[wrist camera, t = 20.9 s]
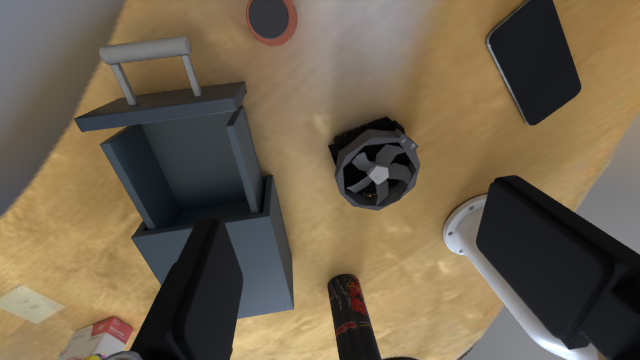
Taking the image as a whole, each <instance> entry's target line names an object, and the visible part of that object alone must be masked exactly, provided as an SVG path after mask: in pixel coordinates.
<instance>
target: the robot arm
mask: <svg viewBox="0 0 640 360" xmlns="http://www.w3.org/2000/svg"><path fill="white" fill-rule="evenodd" d="M443 239H444V242H445V243H446V245H447V246H448V248H449V249H450V250H451V251H453V252H455V253H457V254H462V255H466V256H467V257H468V258H469V259H470V261H471V262H472V263H473V265H474V266H475V267H476V268H477V270H478V271H479V272H480V273H481V275H482V276H483V277H484V279H485V280H486V281H487V282H488V284H489V285H490V286H491V287H492V289H493V290H494V291H495V293H496V294H497V295H498V296H499V298H500V299H501V300H502V301H503V303H504V304H505V305H506V306H507V308H508V309H509V310H510V311H511V313H512V314H513V315H514V317H515V318H516V319H517V320H518V322H519V323H520V324H521V326H522V327H523V328H524V329H525V331H526V332H527V333H528V334H529V336H530V337H531V338H532V339H533V340H534V341H535V342H537V343H538V344H539V345H541V346H542V347H543V348H545V349H547V350H548V351H550V352H552V353H554V354H556V355H558V356H560V357H563V358H565V359H568V360H640V255H639V254H638V253H636V252H635V251H633V250H632V249H630V248H629V247H627V246H625V245H624V244H622V243H621V242H619V241H618V240H616V239H615V238H613V237H612V236H610V235H608V234H607V233H605V232H604V231H602V230H601V229H599V228H597V227H596V226H595V225H593V224H591V223H589V222H588V221H587V220H585V219H584V218H582V217H581V216H579V215H578V214H576V213H574V212H573V211H571V210H570V209H568V208H567V207H565V206H564V205H562V204H561V203H559V202H557V201H556V200H554V199H553V198H551V197H550V196H548V195H547V194H545V193H544V192H542V191H540V190H539V189H537V188H536V187H534V186H533V185H531V184H530V183H528V182H526V181H525V180H523V179H522V178H520V177H519V176H516V175H512V176H504V177H498V178H496V179H495V180H494V182H493V183H491V184H490V187H489V191H488V194H486V195H481V196H478V197H475V198H473V199H471V200H468V201H467V202H465V203H464V204H462V205H461V206H459V207H458V208H457V209H456V210H455V211H454V212H453V213H452V214H451V215H450V217H449V218H448V219H447V221H446V223H445V225H444V229H443ZM242 289H243V274H242V271H241V268H240V265H239V262H238V259H237V257H236V254H235V251H234V248H233V245H232V242H231V240H230V237H229V234H228V231H227V228H226V226H225V223H224V221H223V220H218V218H217V217H208V218H201V219H198V220H197V221H196V223H195V225H194V227H193V229H192V231H191V233H190V235H189V237H188V239H187V241H186V244H185V246H184V248H183V250H182V252H181V254H180V256H179V258H178V260H177V262H175V263H174V264H173V265H172V267H171V268H170V270H169V272H168V274H167V276H166V278H165V280H164V282H163V284H162V286H161V288H160V290H159V292H158V294H157V296H156V298H155V300H154V302H153V304H152V306H151V308H150V310H149V312H148V314H147V316H146V318H145V320H144V322H143V324H142V326H141V329H140V331H139V333H138V335H137V337H136V339H135V341H134V343H133V345H132V347H131V349H130V351H120V352H117V353H115V354H112V355H109V356H108V357H106V358H104V359H103V360H230V355H231V350H232V344H233V339H234V333H235V327H236V322H237V316H238V311H239V305H240V300H241V294H242Z"/></svg>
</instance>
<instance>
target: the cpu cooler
mask: <svg viewBox="0 0 640 360" xmlns="http://www.w3.org/2000/svg"><path fill="white" fill-rule="evenodd" d="M386 117H387V116H386ZM386 117H384V118H383V119H380V120H379V119H378V120H375V121H373V122H372V123H367V125H364V126H363V125H362V127H361V126H360V127H361V128H360V127H357V128H358V130H357V128H356V129H354V131H351V130H349V131H348V132H346V133H345V134H343V133H341V134H343V135H342V136H340V137H339V135H338V137H339V138H338V139H339V141H338V139H336V140H335V141H334V144H331V145H328V147H329V149H330V152H331V155H332V158H333V160H334V163H335V166H336V170H335V179H336V182H337V185H338V188H339V191H340V194H341V195H342V196H343V197H344V198H345V199H346V200H347V201H348V202H349V203H350V204H351V205H352V206H355V207H360V208H366V209H372V210H377V211H378V210H380V209H382V208H384V207H386V206H388V205H390V204H392V203H394V202H396V201H398V200H400V199H401V198H402V197H403V196H404V195H405V194H406V193H408V192H409V191H410V190H411V189H412V188H413V187H414V186H415V183H416V179H417V175H418V170H419V166H420V163H419V160H418V157H417V154H416V149H417V148H418V145H417V144H416V143H415V142H414V141H413V140H411V139H410V138H409V137H407V136H406V135H405V131H404V128H403V127H402V126H401V125H400V124H399V123H398V122H396V121H395V120H394V121H392V120H390V119H389V118H388V117H387V118H386ZM350 131H351V132H350ZM349 132H350V133H349ZM346 134H347V135H346ZM345 135H346V136H345ZM341 137H343V138H341ZM336 138H337V136H336ZM340 138H341V139H340ZM333 139H334V138H333ZM336 141H337V142H336ZM335 142H336V143H335ZM365 192H366V193H365ZM376 192H377V193H376ZM363 193H365V194H363ZM369 193H370V194H369ZM366 194H368V195H366ZM373 194H375V195H373ZM370 195H372V196H371V197H369V196H370Z"/></svg>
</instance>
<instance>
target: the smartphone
mask: <svg viewBox="0 0 640 360" xmlns="http://www.w3.org/2000/svg"><path fill="white" fill-rule="evenodd" d="M487 46H488V48H489V50H490V52H491V54H492V56H493V58H494V60H495V62H496V64H497V66H498V68H499V70H500V72H501V74H502V76H503V78H504V80H505V82H506V84H507V86H508V88H509V90H510V92H511V94H512V96H513V98H514V100H515V102H516V104H517V106H518V108H519V110H520V112H521V114H522V116H523V118H524V120H525V122H526V123H527V124H529V125H536V124H538V123H539V122H541V121H542V120H544V119H545V118H546V117H548V116H549V115H550V114H552V113H553V112H555V111H556V110H557V109H559V108H560V107H562V106H563V105H564V104H566V103H567V102H568V101H570V100H571V99H573V98H574V97H575V96H576V95H577V94H578V93H579V92H580V90H581V83H580V80H579V77H578V74H577V71H576V68H575V65H574V62H573V59H572V56H571V53H570V50H569V47H568V44H567V41H566V38H565V36H564V33H563V30H562V27H561V24H560V21H559V18H558V15H557V12H556V9H555V6H554V3H553V0H527V1H526V2H525V3H523V4H522V5H521V6H520V7H519V8H518V9H516V10H515V11H514V12H513V13H512V14H511V15H510V16H508V17H507V18H506V19H505V20H504V21H503V22H501V23H500V24H499V25H498V26H497V27H496V28H495V29H493V30H492V31H491V32H490V34H489V35H488V37H487Z"/></svg>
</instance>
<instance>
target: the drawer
mask: <svg viewBox="0 0 640 360" xmlns="http://www.w3.org/2000/svg"><path fill="white" fill-rule="evenodd" d="M191 53H192V50H191V45H190V42H189V40H188V39H187V37H185V36H182V37H174V38H166V39H158V40H151V41H143V42H135V43H127V44H119V45H111V46H103V47H100V48H99V54H100V57H101V59H102V60H103V61H104V62H105V63H106V64H108V65H110V66H111V68H112V70H113V72H114V74H115V76H116V78H117V81H118V83H119V85H120V87H121V89H122V91H123V93H124V95H125V98H119V99H117V100H115V101H113V102H110V103H108V104H106V105H104V106H101V107H99V108H97V109H95V110H93V111H90V112H88V113H86V114H84V115H82V116H79V117H77V118H75V119H74V120H75V122H76V123H77V125H78V127H79V128H80V130H81V132H86V131H94V130H101V129H108V128H115V127H122V126H127V127H126V128H124V129H122V130H121V131H119V132H118V133H116V134H115V135H113V136H112V137H110V138H109V139H107V140H106V141H104V142H103V143H101V144H100V146H101V148H102V149H103V151H104V153H105V155H106V156H107V158H108V160H109V161H110V163H111V165H112V167H113V168H114V170H115V172H116V174H117V175H118V177H119V179H120V181H121V182H122V184H123V186H124V187H125V189H126V191H127V193H128V194H129V196H130V198H131V200H132V201H133V203H134V205H135V207H136V208H137V210H138V212H139V213H140V215H141V217H142V219H143V220H144V222H145V224H146V226H147V227H148V229H149V231H150V230H157V229H163V228H169V227H176V226H182V225H188V224H195V223H196V221H197V220H198V219H201V218H208V217H217V218H218V220H220V219H227V218H233V217H240V216H246V215H252V214H259V213H263V208H264V199H265V189H264V185H263V181H262V177H261V173H260V169H259V165H258V161H257V157H256V153H255V149H254V146H253V142H252V138H251V134H250V130H249V126H248V122H247V118H246V114H245V110H244V107H243V106H240V104H241V102H242V100H243V98H244V96H245V95H246V93H247V91H246V87H245V82H237V83H229V84H222V85H214V86H207V87H200V85H199V82H198V79H197V76H196V72H195V69H194V66H193V63H192V60H191V57H190V55H189V54H191ZM181 55H182V56H181ZM173 56H181V57H182V60H183V63H184V66H185V69H186V72H187V75H188V78H189V81H190V84H191V86H192V89H185V90H177V91H170V92H162V93H155V94H147V95H140V96H135V95H134V92H133V90H132V88H131V86H130V84H129V82H128V79H127V77H126V75H125V73H124V71H123V68H122V66H121V64H120V63H127V62H134V61H142V60H150V59H158V58H165V57H173ZM111 64H112V65H111Z"/></svg>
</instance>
